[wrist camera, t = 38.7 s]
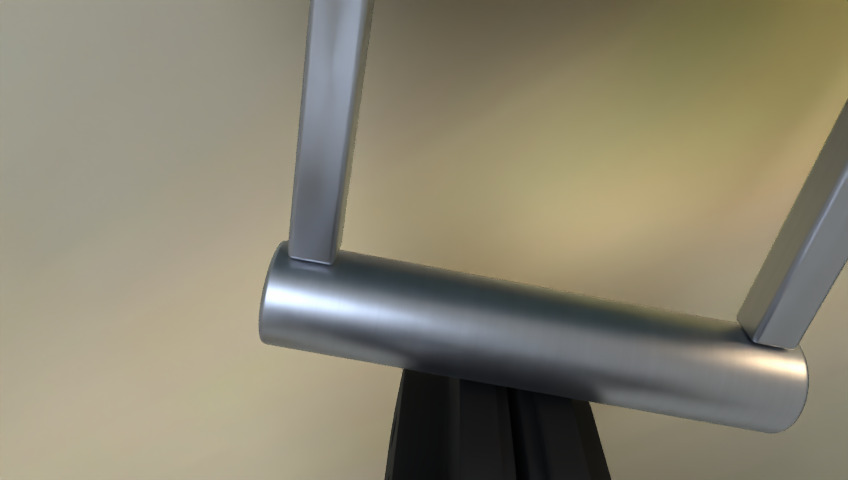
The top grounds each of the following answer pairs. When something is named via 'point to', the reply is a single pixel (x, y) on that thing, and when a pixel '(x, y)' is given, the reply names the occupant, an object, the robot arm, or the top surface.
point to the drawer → (532, 305)
